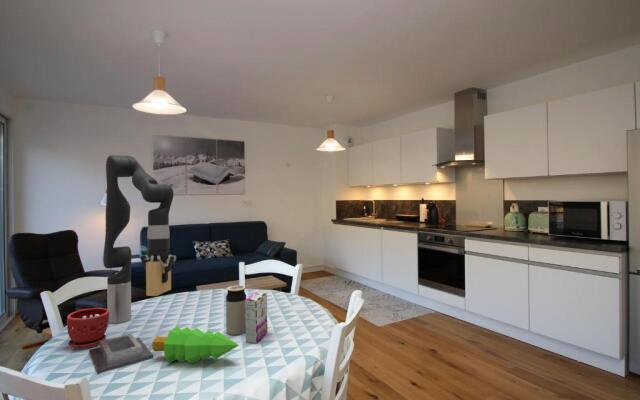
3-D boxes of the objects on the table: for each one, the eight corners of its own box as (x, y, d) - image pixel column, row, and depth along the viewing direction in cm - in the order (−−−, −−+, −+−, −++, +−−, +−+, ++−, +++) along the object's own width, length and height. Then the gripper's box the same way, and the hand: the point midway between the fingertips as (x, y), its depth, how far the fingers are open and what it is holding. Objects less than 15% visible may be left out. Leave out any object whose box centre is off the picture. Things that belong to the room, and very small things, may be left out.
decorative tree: (160, 319, 117) (241, 319, 112) (169, 344, 121) (248, 346, 116) (140, 344, 107) (228, 346, 102) (151, 370, 111) (236, 373, 106)
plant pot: (63, 354, 117) (63, 320, 117) (71, 341, 129) (70, 310, 129) (107, 347, 123) (107, 314, 123) (110, 334, 135) (110, 305, 135)
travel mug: (250, 329, 139) (249, 286, 139) (238, 336, 131) (237, 290, 132) (235, 326, 142) (234, 284, 142) (222, 333, 135) (221, 288, 135)
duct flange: (88, 352, 119) (88, 341, 119) (138, 340, 129) (138, 329, 129) (97, 373, 104) (97, 361, 104) (153, 357, 114) (153, 346, 114)
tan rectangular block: (146, 295, 122) (146, 262, 122) (161, 289, 130) (161, 258, 131) (156, 295, 121) (156, 262, 121) (171, 289, 130) (170, 258, 130)
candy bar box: (256, 331, 136) (255, 291, 136) (267, 332, 135) (267, 292, 136) (244, 343, 125) (244, 299, 126) (257, 344, 124) (256, 299, 125)
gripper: (134, 238, 123) (134, 284, 123) (170, 238, 121) (170, 285, 121) (148, 235, 131) (148, 279, 131) (181, 236, 128) (182, 280, 128)
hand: (158, 282), depth 126 cm, fingers closed on tan rectangular block, 4 cm apart
